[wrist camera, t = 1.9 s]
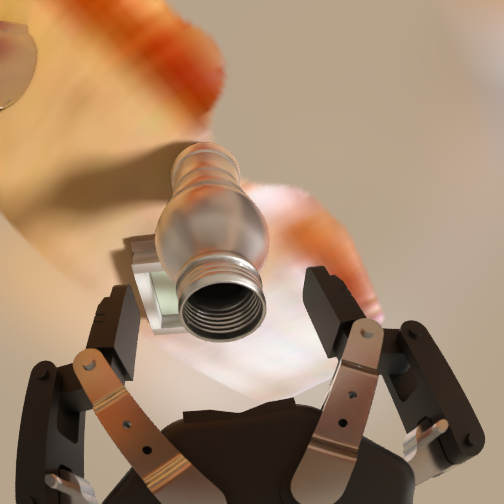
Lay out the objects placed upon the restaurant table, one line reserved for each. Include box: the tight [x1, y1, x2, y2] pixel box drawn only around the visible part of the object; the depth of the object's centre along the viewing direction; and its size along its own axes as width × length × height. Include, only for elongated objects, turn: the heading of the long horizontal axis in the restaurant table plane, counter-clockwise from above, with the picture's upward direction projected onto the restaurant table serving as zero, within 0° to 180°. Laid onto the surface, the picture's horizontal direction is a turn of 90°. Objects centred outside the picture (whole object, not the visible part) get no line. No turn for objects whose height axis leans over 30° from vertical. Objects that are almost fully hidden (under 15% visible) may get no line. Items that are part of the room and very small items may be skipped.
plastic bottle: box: [155, 142, 270, 343], centre depth 19 cm, size 6×7×20 cm
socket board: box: [130, 234, 188, 335], centre depth 33 cm, size 14×12×4 cm
